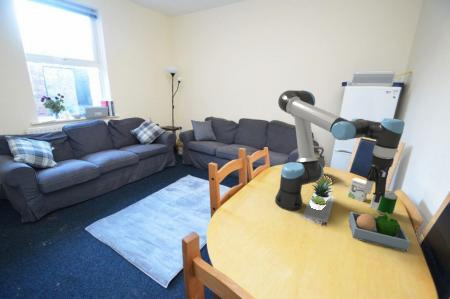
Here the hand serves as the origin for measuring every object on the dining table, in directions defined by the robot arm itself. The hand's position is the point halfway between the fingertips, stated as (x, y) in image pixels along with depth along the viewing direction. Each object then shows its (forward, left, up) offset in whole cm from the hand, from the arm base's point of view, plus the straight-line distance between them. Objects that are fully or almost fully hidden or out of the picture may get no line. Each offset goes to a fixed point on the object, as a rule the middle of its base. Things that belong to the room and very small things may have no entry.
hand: (369, 200), depth 94 cm
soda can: (+14, +23, -16) cm, 32 cm away
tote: (+5, 0, -16) cm, 17 cm away
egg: (0, -1, -16) cm, 16 cm away
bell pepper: (+9, 0, -16) cm, 18 cm away
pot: (-26, +61, -16) cm, 68 cm away
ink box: (+3, +35, -16) cm, 39 cm away
